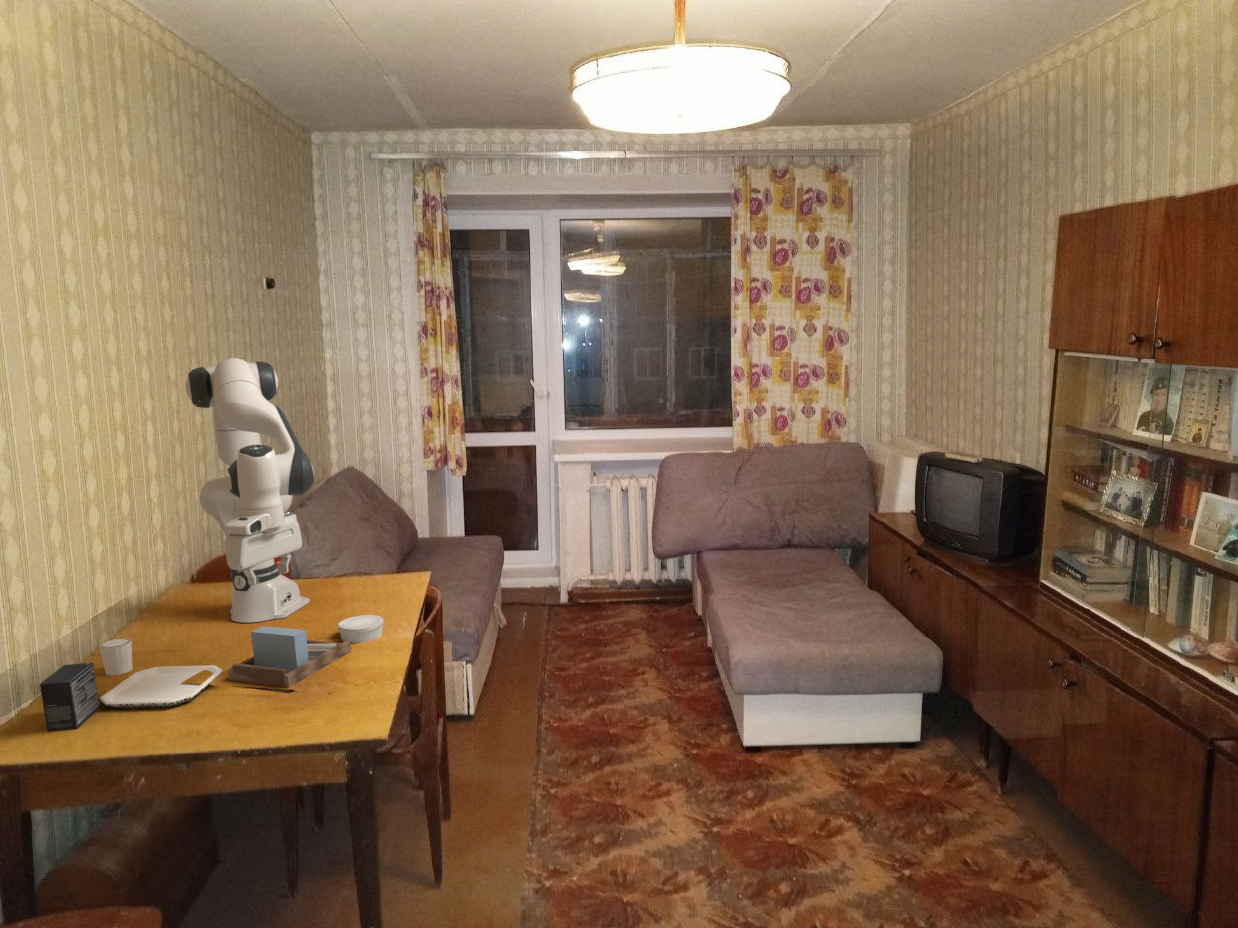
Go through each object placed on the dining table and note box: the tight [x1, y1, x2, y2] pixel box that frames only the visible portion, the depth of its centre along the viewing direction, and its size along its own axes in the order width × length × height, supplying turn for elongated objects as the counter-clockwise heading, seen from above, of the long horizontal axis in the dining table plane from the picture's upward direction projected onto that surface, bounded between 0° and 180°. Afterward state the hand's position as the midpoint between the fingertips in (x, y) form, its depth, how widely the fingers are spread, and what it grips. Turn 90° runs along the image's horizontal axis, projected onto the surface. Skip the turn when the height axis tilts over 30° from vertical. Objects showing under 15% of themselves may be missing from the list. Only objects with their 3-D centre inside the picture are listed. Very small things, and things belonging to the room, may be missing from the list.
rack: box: [227, 639, 352, 694], centre depth 218 cm, size 23×16×5 cm
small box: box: [39, 662, 101, 732], centre depth 195 cm, size 11×6×10 cm, turn 5°
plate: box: [99, 664, 224, 709], centre depth 209 cm, size 21×21×2 cm
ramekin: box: [337, 614, 385, 644], centre depth 237 cm, size 11×11×5 cm
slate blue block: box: [250, 625, 310, 673], centre depth 214 cm, size 4×12×11 cm, turn 70°
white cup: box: [98, 637, 133, 676], centre depth 223 cm, size 7×7×7 cm
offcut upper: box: [307, 642, 337, 660], centre depth 224 cm, size 5×11×2 cm, turn 86°
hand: (269, 578), depth 211 cm, fingers open, 8 cm apart
